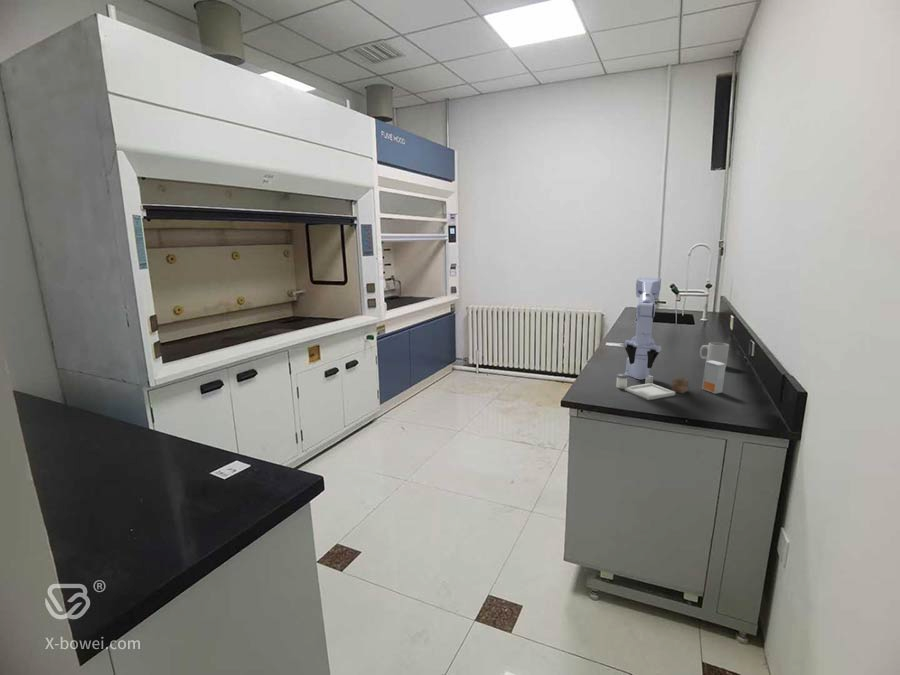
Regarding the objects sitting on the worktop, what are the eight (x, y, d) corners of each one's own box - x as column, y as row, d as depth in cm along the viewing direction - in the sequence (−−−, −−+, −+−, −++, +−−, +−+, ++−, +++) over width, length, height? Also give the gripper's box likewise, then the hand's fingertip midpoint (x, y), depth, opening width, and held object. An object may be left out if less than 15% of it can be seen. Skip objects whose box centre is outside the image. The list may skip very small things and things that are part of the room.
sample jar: (613, 386, 185) (614, 374, 184) (621, 384, 187) (622, 373, 186) (621, 389, 181) (622, 377, 180) (629, 387, 183) (630, 375, 182)
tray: (624, 390, 180) (625, 387, 180) (650, 386, 185) (651, 383, 185) (648, 400, 169) (648, 396, 169) (675, 395, 174) (675, 391, 174)
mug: (728, 366, 214) (731, 343, 212) (723, 369, 208) (726, 346, 206) (700, 361, 222) (703, 340, 220) (695, 364, 216) (698, 342, 214)
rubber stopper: (643, 384, 188) (644, 377, 187) (648, 383, 189) (649, 376, 189) (648, 386, 185) (649, 379, 185) (654, 385, 186) (655, 378, 186)
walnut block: (672, 390, 180) (673, 379, 178) (677, 388, 182) (678, 377, 181) (682, 393, 176) (683, 381, 175) (687, 391, 179) (688, 379, 178)
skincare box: (701, 389, 181) (705, 360, 179) (709, 388, 183) (712, 359, 180) (714, 394, 176) (718, 364, 173) (722, 392, 177) (726, 363, 175)
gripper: (621, 331, 180) (618, 363, 183) (655, 337, 169) (652, 371, 172) (631, 328, 184) (628, 360, 187) (665, 334, 173) (661, 368, 176)
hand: (640, 365), depth 180 cm, fingers open, 7 cm apart
